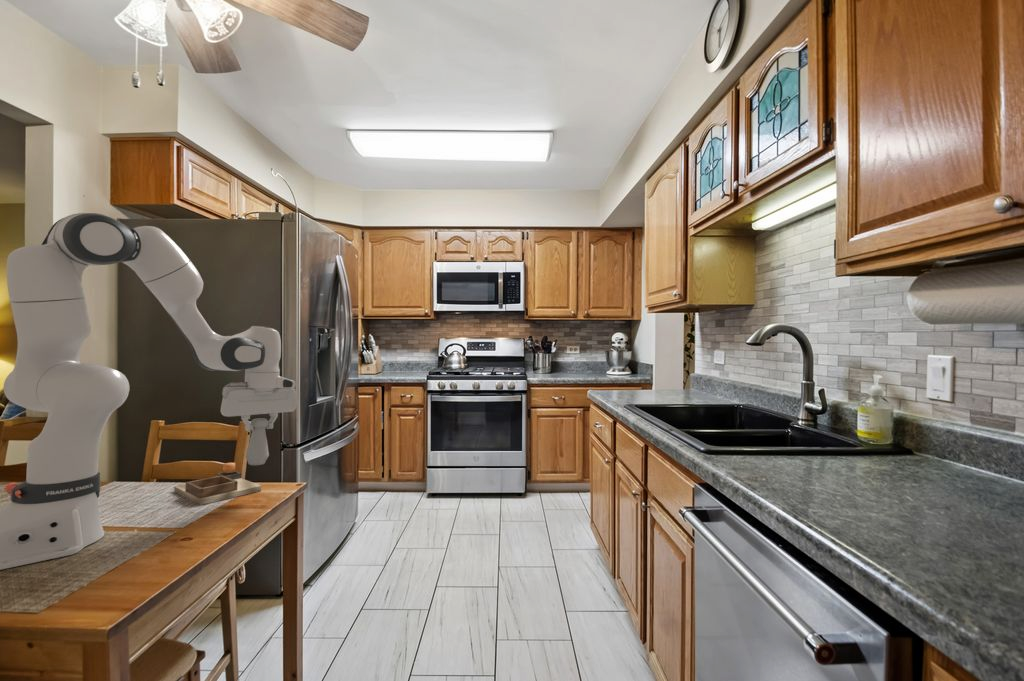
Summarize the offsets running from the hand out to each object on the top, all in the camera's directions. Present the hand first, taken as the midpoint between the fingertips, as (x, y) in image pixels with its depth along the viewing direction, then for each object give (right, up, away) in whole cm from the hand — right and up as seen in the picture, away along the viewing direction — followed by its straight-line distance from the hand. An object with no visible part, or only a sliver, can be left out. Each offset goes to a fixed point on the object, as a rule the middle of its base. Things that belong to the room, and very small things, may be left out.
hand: (259, 429), depth 131 cm
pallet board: (-14, -19, +3) cm, 24 cm away
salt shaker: (0, -10, 0) cm, 10 cm away
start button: (-16, -16, +11) cm, 25 cm away
